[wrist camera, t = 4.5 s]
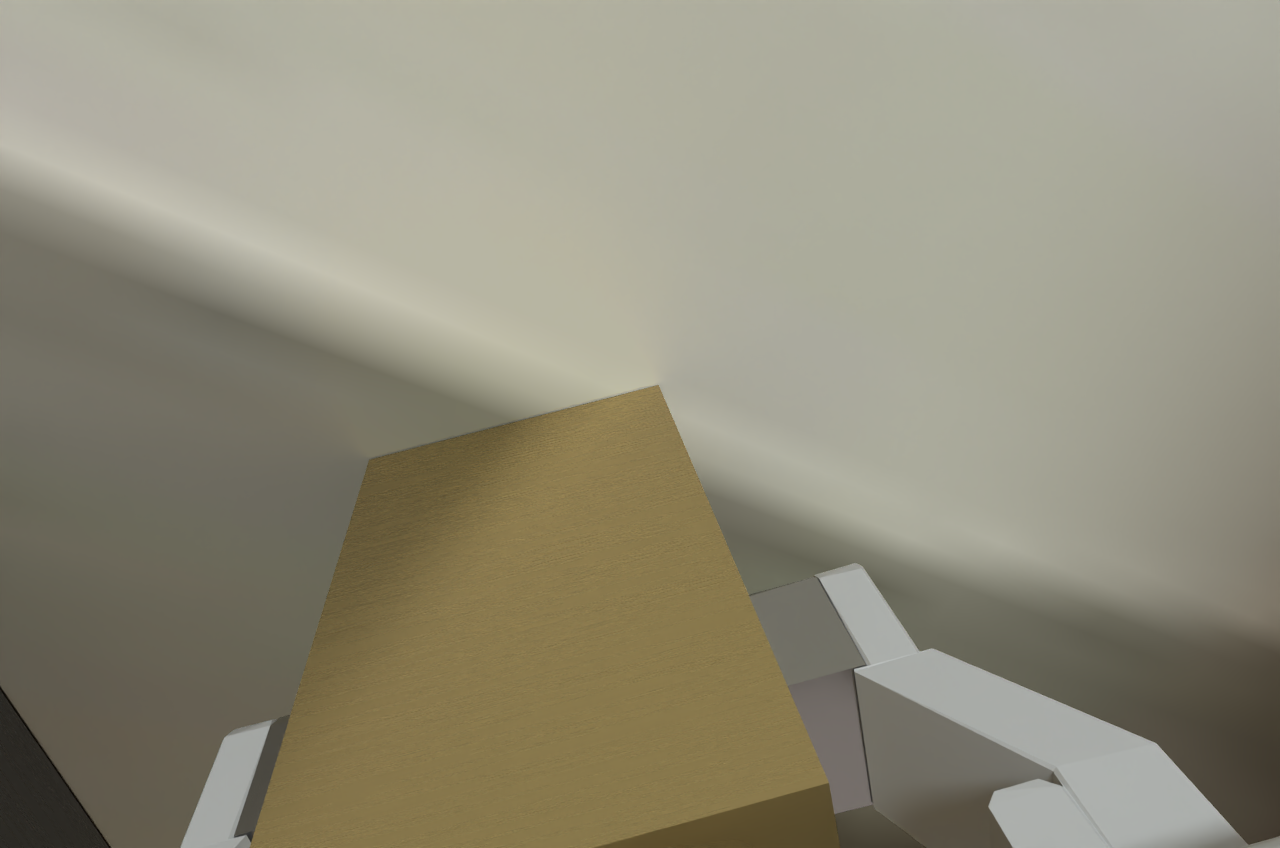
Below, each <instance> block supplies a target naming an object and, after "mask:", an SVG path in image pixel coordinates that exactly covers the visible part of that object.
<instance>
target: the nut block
mask: <svg viewBox="0 0 1280 848" xmlns="http://www.w3.org/2000/svg"><path fill="white" fill-rule="evenodd" d="M250 848H840V844H839V838H838V832H837V826H836V821H835V815H834V809H833V803H832V797H831V792H830V786H829V782H828V779H827V777H826V775H825V772H824V770H823V768H822V765H821V763H820V761H819V758H818V756H817V754H816V751H815V749H814V747H813V744H812V742H811V740H810V737H809V735H808V733H807V730H806V728H805V726H804V723H803V721H802V719H801V716H800V714H799V712H798V709H797V707H796V705H795V702H794V700H793V698H792V695H791V693H790V691H789V688H788V686H787V684H786V681H785V679H784V677H783V674H782V672H781V670H780V667H779V665H778V663H777V660H776V658H775V656H774V653H773V651H772V649H771V646H770V644H769V642H768V639H767V637H766V635H765V632H764V630H763V628H762V625H761V623H760V621H759V618H758V616H757V614H756V611H755V609H754V607H753V604H752V602H751V600H750V597H749V595H748V593H747V590H746V588H745V586H744V583H743V581H742V579H741V576H740V574H739V572H738V569H737V567H736V565H735V562H734V560H733V558H732V555H731V553H730V551H729V548H728V546H727V544H726V541H725V539H724V537H723V534H722V532H721V530H720V527H719V525H718V523H717V520H716V518H715V516H714V513H713V511H712V509H711V506H710V504H709V502H708V499H707V497H706V495H705V492H704V490H703V488H702V485H701V483H700V481H699V478H698V476H697V474H696V471H695V469H694V467H693V464H692V462H691V460H690V457H689V455H688V453H687V450H686V448H685V446H684V443H683V441H682V439H681V436H680V434H679V432H678V429H677V427H676V425H675V422H674V420H673V418H672V415H671V413H670V411H669V408H668V406H667V404H666V401H665V399H664V397H663V394H662V392H661V390H660V387H659V385H657V386H653V387H649V388H645V389H641V390H637V391H634V392H630V393H626V394H622V395H618V396H614V397H610V398H607V399H603V400H599V401H595V402H591V403H587V404H583V405H579V406H576V407H572V408H568V409H564V410H560V411H556V412H552V413H549V414H545V415H541V416H537V417H533V418H529V419H525V420H521V421H518V422H514V423H510V424H506V425H502V426H498V427H494V428H491V429H487V430H483V431H479V432H475V433H471V434H467V435H463V436H460V437H456V438H452V439H448V440H444V441H440V442H436V443H433V444H429V445H425V446H421V447H417V448H413V449H409V450H405V451H402V452H398V453H394V454H390V455H386V456H382V457H378V458H375V459H371V460H369V462H368V466H367V469H366V472H365V475H364V479H363V482H362V485H361V488H360V491H359V495H358V498H357V501H356V504H355V508H354V511H353V514H352V517H351V521H350V524H349V527H348V530H347V534H346V537H345V540H344V543H343V547H342V550H341V553H340V556H339V560H338V563H337V566H336V569H335V572H334V576H333V579H332V582H331V585H330V589H329V592H328V595H327V598H326V602H325V605H324V608H323V611H322V615H321V618H320V621H319V624H318V628H317V631H316V634H315V637H314V641H313V644H312V647H311V650H310V654H309V657H308V660H307V663H306V666H305V670H304V673H303V676H302V679H301V683H300V686H299V689H298V692H297V696H296V699H295V702H294V705H293V709H292V712H291V715H290V718H289V722H288V725H287V728H286V731H285V735H284V738H283V741H282V744H281V747H280V751H279V754H278V757H277V760H276V764H275V767H274V770H273V773H272V777H271V780H270V783H269V786H268V790H267V793H266V796H265V799H264V803H263V806H262V809H261V812H260V816H259V819H258V822H257V825H256V828H255V832H254V835H253V838H252V841H251V845H250Z"/></svg>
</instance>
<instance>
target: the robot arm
mask: <svg viewBox="0 0 1280 848" xmlns="http://www.w3.org/2000/svg"><path fill="white" fill-rule="evenodd" d="M749 597H750V600H751V602H752V604H753V607H754V609H755V611H756V614H757V616H758V618H759V621H760V623H761V625H762V628H763V630H764V632H765V635H766V637H767V639H768V642H769V644H770V646H771V649H772V651H773V653H774V656H775V658H776V660H777V663H778V665H779V667H780V670H781V672H782V674H783V677H784V679H785V681H786V684H787V686H788V688H789V691H790V693H791V695H792V698H793V700H794V702H795V705H796V707H797V709H798V712H799V714H800V716H801V719H802V721H803V723H804V726H805V728H806V730H807V733H808V735H809V737H810V740H811V742H812V744H813V747H814V749H815V751H816V754H817V756H818V758H819V761H820V763H821V765H822V768H823V770H824V772H825V775H826V777H827V779H828V782H829V786H830V792H831V797H832V803H833V809H834V814H836V813H841V812H845V811H849V810H853V809H857V808H861V807H865V806H869V805H873V806H874V809H875V810H877V811H878V812H879V813H881V814H882V815H883V816H885V817H886V818H887V819H889V820H890V821H891V822H893V823H894V824H895V825H897V826H898V827H899V828H901V829H902V830H903V831H905V832H906V833H907V834H909V835H910V836H911V837H913V838H914V839H915V840H917V841H918V842H919V843H921V844H922V845H923V846H925V847H926V848H1280V836H1279V837H1275V838H1272V839H1268V840H1265V841H1261V842H1258V843H1254V844H1251V845H1248V844H1247V843H1246V842H1245V841H1244V840H1243V839H1242V837H1241V836H1240V835H1239V834H1238V833H1237V832H1236V831H1235V830H1234V829H1233V828H1232V826H1231V825H1230V824H1229V823H1228V822H1227V821H1226V820H1225V819H1224V818H1223V816H1222V815H1221V814H1220V813H1219V812H1218V811H1217V810H1216V809H1215V808H1214V807H1213V805H1212V804H1211V803H1210V802H1209V801H1208V800H1207V799H1206V798H1205V797H1204V795H1203V794H1202V793H1201V792H1200V791H1199V790H1198V789H1197V788H1196V787H1195V786H1194V784H1193V783H1192V782H1191V781H1190V780H1189V779H1188V778H1187V777H1186V776H1185V775H1184V773H1183V772H1182V771H1181V770H1180V769H1179V768H1178V767H1177V766H1176V765H1175V763H1174V762H1173V761H1172V760H1171V759H1170V758H1169V757H1168V756H1167V755H1166V754H1165V752H1164V751H1163V750H1162V749H1161V748H1160V747H1159V746H1158V745H1157V744H1156V743H1154V742H1152V741H1150V740H1147V739H1145V738H1143V737H1140V736H1138V735H1136V734H1133V733H1131V732H1129V731H1126V730H1124V729H1122V728H1119V727H1117V726H1114V725H1112V724H1110V723H1107V722H1105V721H1103V720H1100V719H1098V718H1096V717H1093V716H1091V715H1089V714H1086V713H1084V712H1081V711H1079V710H1077V709H1074V708H1072V707H1070V706H1067V705H1065V704H1063V703H1060V702H1058V701H1056V700H1053V699H1051V698H1049V697H1046V696H1044V695H1041V694H1039V693H1037V692H1034V691H1032V690H1030V689H1027V688H1025V687H1023V686H1020V685H1018V684H1016V683H1013V682H1011V681H1008V680H1006V679H1004V678H1001V677H999V676H997V675H994V674H992V673H990V672H987V671H985V670H983V669H980V668H978V667H975V666H973V665H971V664H968V663H966V662H964V661H961V660H959V659H957V658H954V657H952V656H950V655H947V654H945V653H943V652H940V651H938V650H935V649H929V650H925V651H921V652H920V651H919V650H918V648H917V647H916V645H915V644H914V642H913V641H912V639H911V638H910V636H909V635H908V633H907V632H906V630H905V629H904V627H903V626H902V625H901V623H900V622H899V620H898V619H897V617H896V616H895V614H894V613H893V611H892V610H891V608H890V607H889V605H888V604H887V602H886V601H885V599H884V598H883V596H882V595H881V593H880V592H879V590H878V589H877V587H876V586H875V584H874V583H873V581H872V580H871V578H870V577H869V575H868V574H867V572H866V571H865V569H864V568H863V566H861V565H859V564H857V563H854V564H850V565H847V566H844V567H840V568H837V569H834V570H830V571H827V572H824V573H820V574H817V575H814V577H812V578H808V579H805V580H801V581H797V582H794V583H790V584H786V585H783V586H779V587H775V588H772V589H768V590H764V591H761V592H757V593H753V594H750V595H749ZM289 718H290V715H288V716H284V717H280V718H278V719H276V720H269V721H265V722H261V723H257V724H254V725H250V726H246V727H242V728H238V729H234V730H233V731H232V732H231V733H229V734H228V735H227V736H226V737H225V738H224V739H223V741H222V744H221V746H220V749H219V751H218V754H217V756H216V759H215V761H214V764H213V766H212V769H211V771H210V774H209V776H208V779H207V781H206V784H205V786H204V789H203V791H202V794H201V796H200V799H199V801H198V804H197V806H196V809H195V811H194V814H193V817H192V819H191V822H190V824H189V827H188V829H187V832H186V834H185V837H184V839H183V842H182V844H181V847H180V848H250V845H251V841H252V838H253V835H254V832H255V828H256V825H257V822H258V819H259V816H260V812H261V809H262V806H263V803H264V799H265V796H266V793H267V790H268V786H269V783H270V780H271V777H272V773H273V770H274V767H275V764H276V760H277V757H278V754H279V751H280V747H281V744H282V741H283V738H284V735H285V731H286V728H287V725H288V722H289Z"/></svg>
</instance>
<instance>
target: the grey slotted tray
mask: <svg viewBox="0 0 1280 848" xmlns="http://www.w3.org/2000/svg"><path fill="white" fill-rule="evenodd" d="M0 848H109V847H108V845H107V844H106V843H105V841H104V840H103V838H102V837H101V835H100V834H99V832H98V831H97V829H96V828H95V827H94V825H93V824H92V822H91V821H90V819H89V818H88V816H87V815H86V813H85V812H84V811H83V809H82V808H81V806H80V805H79V803H78V802H77V800H76V799H75V798H74V796H73V795H72V793H71V792H70V790H69V789H68V787H67V786H66V784H65V783H64V782H63V780H62V779H61V777H60V776H59V774H58V773H57V771H56V770H55V769H54V767H53V766H52V764H51V763H50V761H49V760H48V758H47V757H46V755H45V754H44V753H43V751H42V750H41V748H40V747H39V745H38V744H37V742H36V741H35V740H34V738H33V737H32V735H31V734H30V732H29V731H28V729H27V728H26V726H25V725H24V724H23V722H22V721H21V719H20V718H19V716H18V715H17V713H16V712H15V710H14V709H13V708H12V706H11V705H10V703H9V702H8V700H7V699H6V697H5V696H4V695H3V693H2V692H1V690H0Z"/></svg>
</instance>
